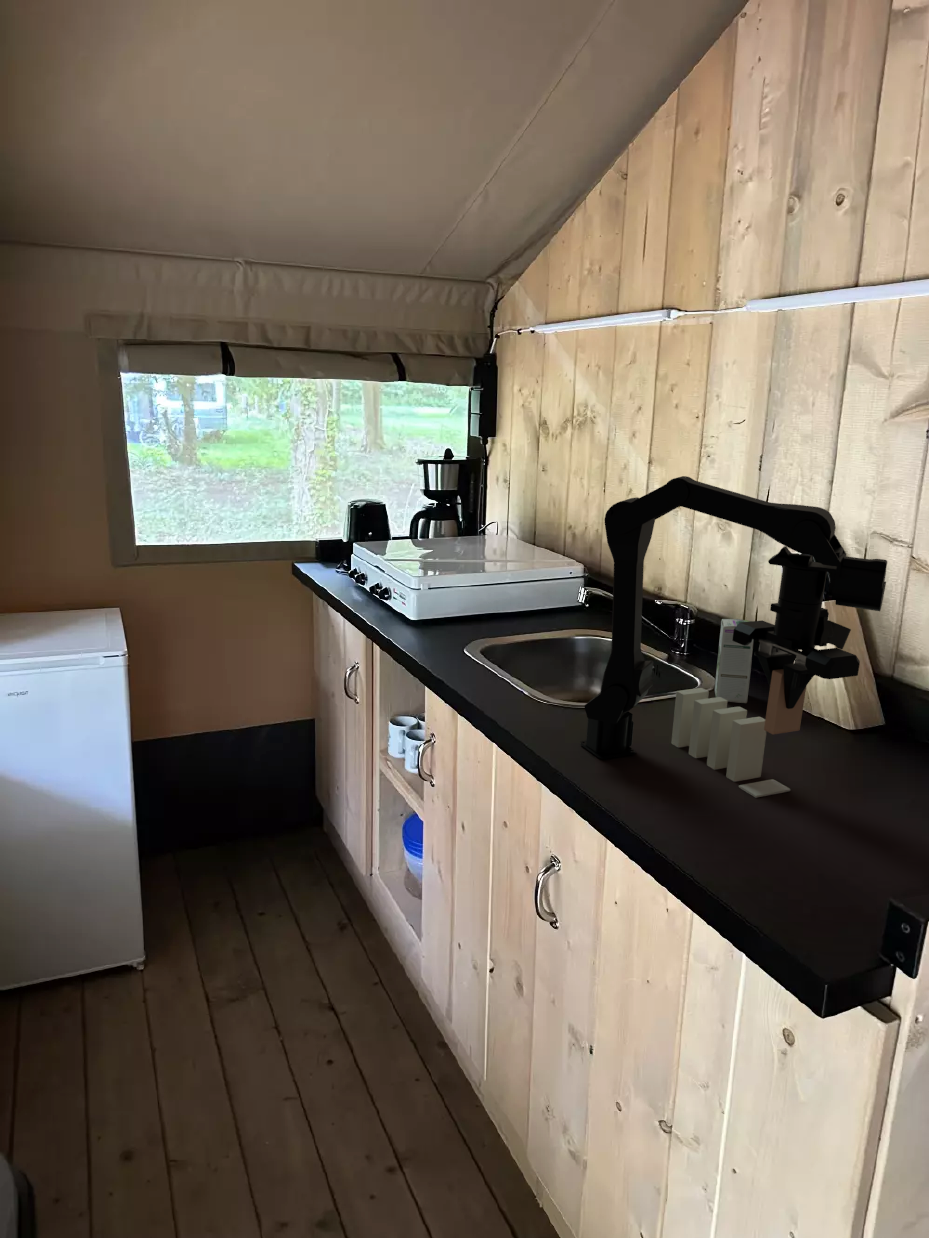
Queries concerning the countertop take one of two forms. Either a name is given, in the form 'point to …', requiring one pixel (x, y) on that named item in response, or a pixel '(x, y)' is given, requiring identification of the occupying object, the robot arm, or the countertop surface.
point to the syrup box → (733, 665)
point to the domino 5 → (782, 708)
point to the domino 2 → (703, 725)
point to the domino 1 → (685, 715)
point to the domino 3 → (722, 735)
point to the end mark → (764, 788)
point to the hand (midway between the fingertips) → (784, 705)
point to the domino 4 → (746, 749)
